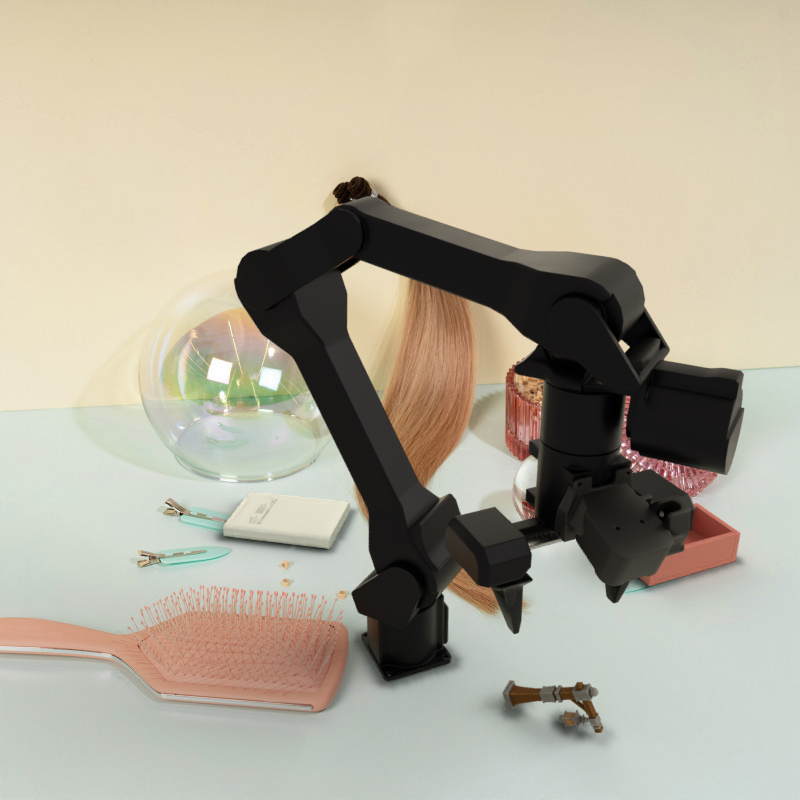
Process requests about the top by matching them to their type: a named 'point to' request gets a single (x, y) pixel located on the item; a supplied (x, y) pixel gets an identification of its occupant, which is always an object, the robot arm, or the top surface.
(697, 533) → the tray
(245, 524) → the hard drive
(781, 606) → the top surface
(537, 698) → the wooden post with brackets
